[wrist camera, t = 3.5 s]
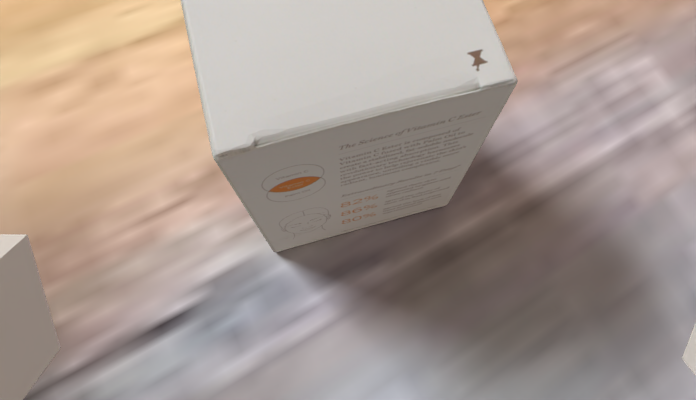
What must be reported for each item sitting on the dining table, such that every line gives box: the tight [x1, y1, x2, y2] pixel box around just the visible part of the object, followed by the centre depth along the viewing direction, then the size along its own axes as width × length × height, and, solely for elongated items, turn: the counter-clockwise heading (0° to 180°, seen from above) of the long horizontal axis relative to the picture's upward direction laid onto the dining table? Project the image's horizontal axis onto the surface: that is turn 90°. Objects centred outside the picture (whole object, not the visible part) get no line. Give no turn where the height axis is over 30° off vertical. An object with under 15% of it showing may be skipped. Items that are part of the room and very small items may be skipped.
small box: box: [181, 0, 517, 252], centre depth 18 cm, size 8×6×10 cm
